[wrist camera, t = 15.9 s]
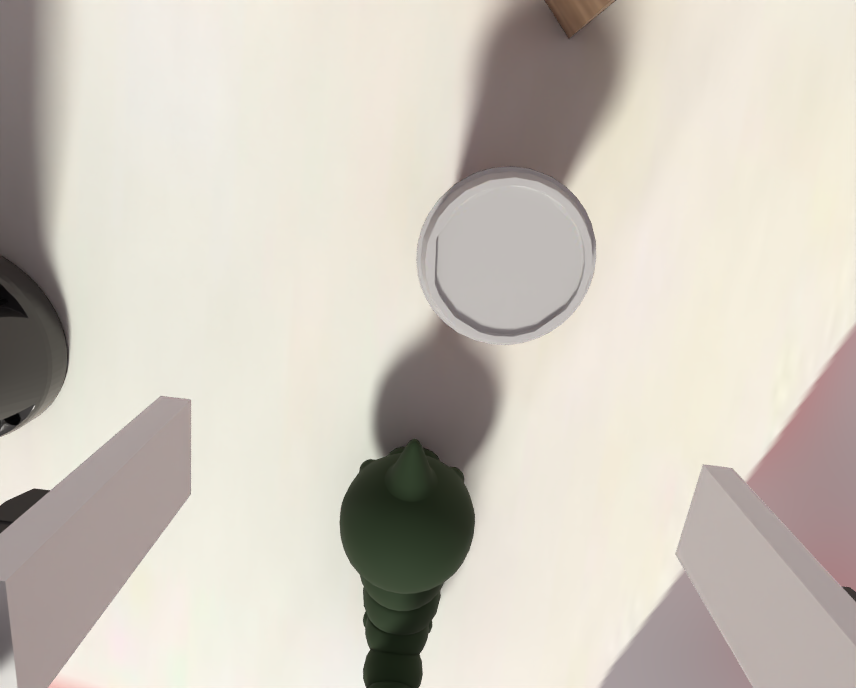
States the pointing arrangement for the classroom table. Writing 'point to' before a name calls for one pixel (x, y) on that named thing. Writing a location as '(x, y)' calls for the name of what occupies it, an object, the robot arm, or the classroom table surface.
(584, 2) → the walnut cover
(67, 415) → the classroom table surface
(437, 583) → the toy figurine
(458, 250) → the disposable coffee cup
